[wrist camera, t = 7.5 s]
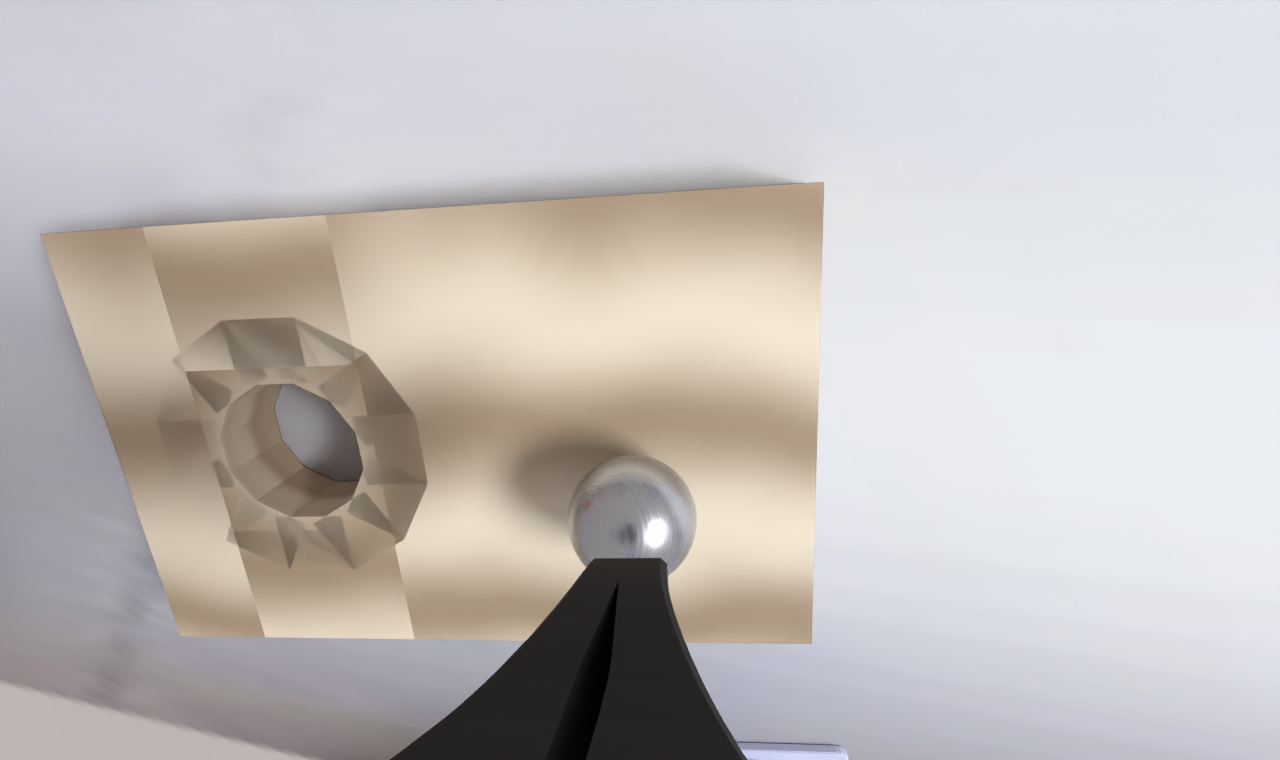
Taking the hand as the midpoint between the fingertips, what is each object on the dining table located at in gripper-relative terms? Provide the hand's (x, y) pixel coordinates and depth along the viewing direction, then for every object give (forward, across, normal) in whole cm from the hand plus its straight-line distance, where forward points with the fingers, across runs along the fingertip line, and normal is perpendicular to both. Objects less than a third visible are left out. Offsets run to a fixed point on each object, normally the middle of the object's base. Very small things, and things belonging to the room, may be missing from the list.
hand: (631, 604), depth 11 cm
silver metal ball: (+5, +1, +1) cm, 5 cm away
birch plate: (+9, +6, 0) cm, 11 cm away
